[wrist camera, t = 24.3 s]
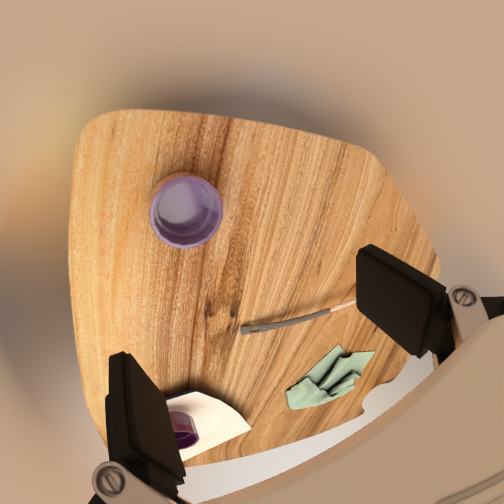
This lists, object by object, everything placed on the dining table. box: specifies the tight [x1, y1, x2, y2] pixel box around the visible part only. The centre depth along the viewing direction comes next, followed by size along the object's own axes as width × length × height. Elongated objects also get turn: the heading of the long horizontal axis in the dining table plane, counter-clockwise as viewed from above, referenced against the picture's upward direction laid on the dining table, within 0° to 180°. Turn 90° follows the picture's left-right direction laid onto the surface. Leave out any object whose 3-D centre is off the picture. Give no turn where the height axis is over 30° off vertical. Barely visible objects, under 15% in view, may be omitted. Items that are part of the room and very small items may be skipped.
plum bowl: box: [169, 411, 200, 450], centre depth 34 cm, size 7×7×4 cm
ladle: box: [241, 299, 356, 335], centre depth 40 cm, size 6×28×5 cm, turn 94°
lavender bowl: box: [148, 172, 223, 249], centre depth 25 cm, size 7×7×4 cm
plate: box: [165, 389, 251, 461], centre depth 39 cm, size 20×20×3 cm
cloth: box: [286, 344, 375, 410], centre depth 51 cm, size 20×22×2 cm
